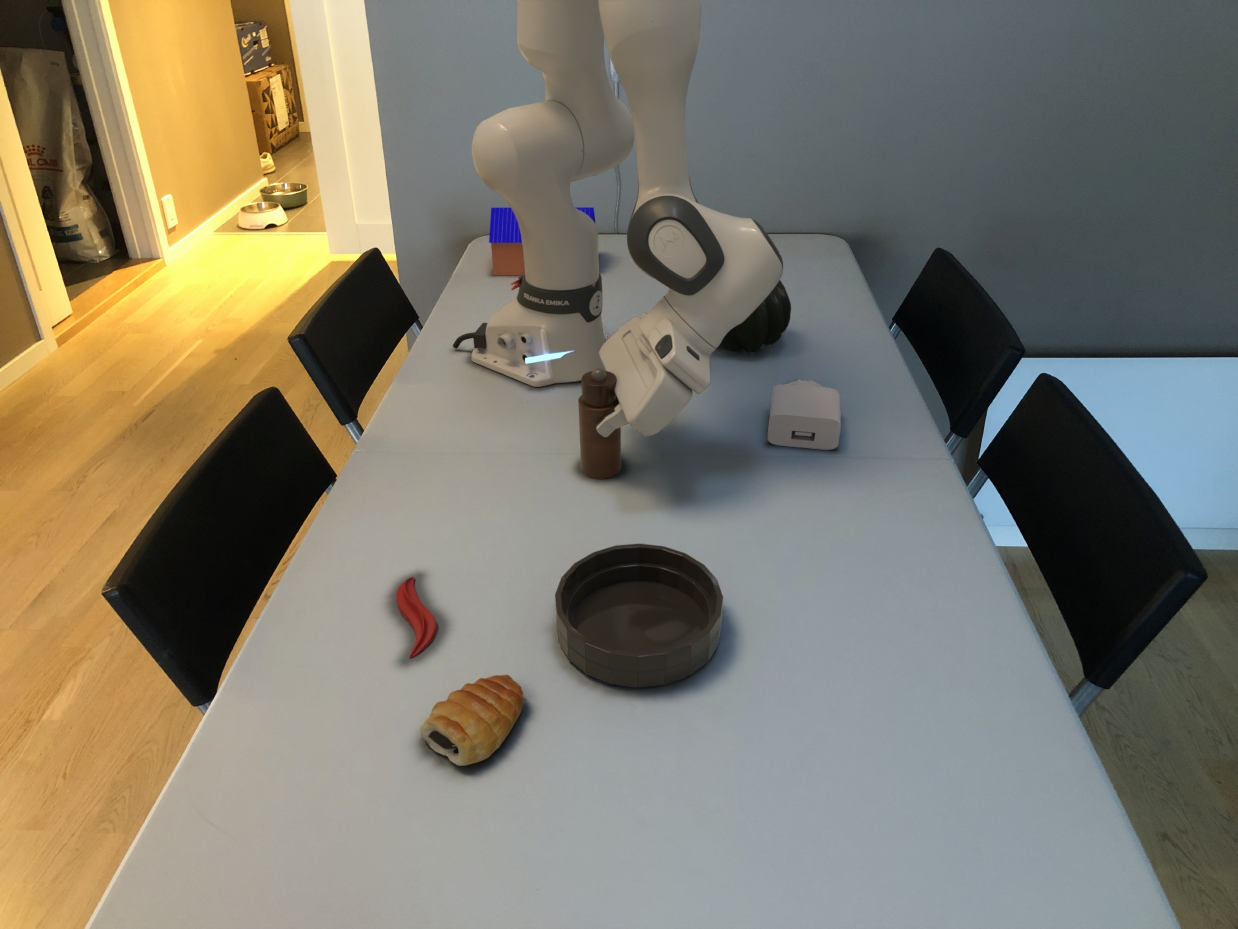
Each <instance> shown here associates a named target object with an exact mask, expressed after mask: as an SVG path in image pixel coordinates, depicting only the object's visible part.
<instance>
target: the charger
mask: <svg viewBox="0 0 1238 929" xmlns="http://www.w3.org/2000/svg"><path fill="white" fill-rule="evenodd" d="M768 419H769V420H768V430H767V439H766V440H767V441H768V442H769V444H772V445H774V446H780V447H790V448H802V449H811V450H812V449H813V450H823V451H831V450H834V449H836V448H838V446H839V440H840V435H841V427H842V420H841V419H842V418H841V394H840V391H838V390H837V389H835V388H831V387H825V386H823V385H821V384H819V383H818V382H816V381H814V380H813V379H810V380H802V379H801V378H798V379H797V380H795V381H794V380H793V381H791V382H789V383H785V384H783V383H782V384H777V385H774V386H773V387H772V390H771V400H770V409H769V418H768Z"/></svg>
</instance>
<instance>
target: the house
mask: <svg viewBox="0 0 1238 929" xmlns="http://www.w3.org/2000/svg"><path fill="white" fill-rule="evenodd" d="M574 208H576V209H578V210H580V211H582V212H584V213H585V214H587V215H588V216H589V217H590V218H591V219H592V220H593V221H594V223H595V224H596V225H597V223H596V216H595V215H596V214H595V209H594V208H595V207H593V206H592V207H587V206H586V207H579V206H578V207H575V206H574ZM489 219H490V220H489V221H490V222H489V236H488V243H489V244H490V247H491V258H492V270H493V276H522V275H524V274H525V265H524V254H523V245H522V238H521V232H520V228H519V225H518V222H517V219H516V217H515V214H514V212H513V211H512V209H511V207H490V218H489Z"/></svg>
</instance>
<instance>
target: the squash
mask: <svg viewBox="0 0 1238 929" xmlns="http://www.w3.org/2000/svg"><path fill="white" fill-rule="evenodd" d="M791 313H792V304H791V300H790V297H789V294H788V292H787V290H786V287H785V285H784V284H783V281H781V279H780V280H779V282H778V283H777V285H776V286H775V287H774V289H773V290H772V291H771V293H770V294H769V295H768V296H767V297H766V298H765V300H764V301H763V302H762V303H761V304H760V305H759V306H758V307H757V308H756V309H755V310H754V312H753V313H752V314H751V315H750V316H749V317H748V318H747V319H746V320H745V321H743V322H742V323H741V324H739V325H737V326H735V327H734V328H732V329H731V330H730V331H729V332H728V333H727V334H726V335H725V336H724V338H723V340H722V342H721V343H720V345H719V346H720V347H724V348H725V349H726V350H728V351H729V352H732V353H734V352H735V353H737V352H739V351H741V350H744V351H745V352H747V353H748V354H753V353H754V354H755V353H757V352H759V351H760V350H761V349H762V348H763V346H771V345H772V346H773V345H774V344H776V343H777V342H778V341H779V340H780V338H781V336H782V335H783V334H784V332H785V331H786V330H787V328H788V326H789V324H790V320H791Z"/></svg>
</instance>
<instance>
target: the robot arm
mask: <svg viewBox="0 0 1238 929" xmlns="http://www.w3.org/2000/svg"><path fill="white" fill-rule="evenodd" d="M702 2H703V0H517V10H516V11H517V12H516V13H517V15H516V16H517V18H516V20H517V22H516V23H517V24H516V26H517V29H516V32H517V33H516V36H517V37H516V43H517V47H518V50H519V52H520V54H521V55H522V57H523V58H524V60H525V61H526V62H527V63H528V64H530V66H532V67H534V68H535V69H536V70H538V71H540V72H541V74H542V77H543V80H544V85H545V98H544V101H539V102H534V103H528V104H524V105H517V106H512V107H509V108H507V109H504V110H502V111H500V112H497V113H496V114H493V115H492V116H489V117H488V118H486V119H484V120H482V121H481V122H479V124H478V125H477V126H476V129H475V131H474V134H473V138H472V143H471V157H472V161H473V166H474V168H475V171H476V173H477V175H478V176H479V178H480V180H481V181H482V182H483V183H484V184H485V186H487V187H488V188H489V189H490V191H493V192H494V193H496V194H498V195H499V196H500V197H501V198H502V199H503V200H504V201H505V202H506V203H507V204H508V206H509V208H511V209H512V211H513V212H514V214H515V217H516V219H517V222H518V225H519V228H520V232H521V238H522V245H523V254H524V265H525V274H524V275H519V276H518V279H516V280H514V281H513V282H511V283H510V286H511V288H510V290H511V291H514V290H516V289H518V291H517V295H516V297H514V299H512V300H511V301H509V302H508V303H507V304H506V305H505V306H503V307H501V309H500V310H498V311H497V312H495V313H494V314H493V315H492V316H491V317H490V318H489V319H488V322H482V323H481V324H480V326H479V327H478V328H477V329H476V330H475V331H473V332H468V333H464V334H462V335H459V336H458V337H457V338H455V341H454V342H453V344H452V348H454V349H455V350H457V349H458V348H459V347H460V345H461V344H462V342H464V341H466V340H470V339H472V340H473V350H472V353H471V361H472V362H473V363H475V364H478V365H480V366H482V367H484V368H487V369H489V370H492V371H494V372H496V373H499V374H502V375H504V376H507V377H509V378H511V379H514V380H516V381H519V382H521V383H524V384H526V385H527V386H528V385H529V386H531V387H534V388H539V387H545V386H548V385H552V384H553V385H554V384H560V383H561V384H562V383H573V382H574V383H575V382H580V381H581V382H582V376H583V375H584V374H585V373H587V372H590V371H593V370H594V369H596V368H601V369H603V370H604V371H609V372H611V373H613V374H614V375H615V376H616V384H615V388H614V391H615V393H616V396H617V398H618V400H619V404H618V405H617V406H616V407H615V409H614V410H615V412H613V413H612V414H610V415H608V416H607V417H605V416H604V415H603V416H602V417H601V418H600V419H599V421H597V422H596V423H595V426H596V429H597V432H598V433H599V434H600V435H602V436H603V437H608V436H609V435H610V434H611V433H612V432H613V431H614V430H615V429H617V428H620V427H621V428H622V427H625V426H627V425H630V426H631V427H632V428H633V429H635V430H636V431H637V432H638V433H640V434H641V435H642V436H644V437H645V438H647V437H651V436H654V435H657V434H658V433H660V432H662V430H663V429H665V427H667V425H669V424H670V423H671V422H672V421H673V420H674V419H675V418H676V417H677V416H678V415H679V414H680V413H682V411H683V410H684V409H685V408H686V407H687V406H688V404H689V403H690V402H691V399H693V398H692V397H693V394H694V393H695V394H696V395H701V394H702V393H704V392H705V391H706V390H707V389H708V388H709V387H710V385H711V354H712V353H713V352H715V350H717V348H719V346H721V345H720V343H721V342H722V340H723V338H724V336H725V335H726V334H727V333H728V332H729V331H730V330H731V329H732V328H734V327H735V326H737V325H739V324H741V323H742V322H743V321H745V320H746V319H747V318H748V317H749V316H750V315H751V314H752V313H753V312H754V310H755V309H756V308H757V307H758V306H759V305H760V304H761V303H762V302H763V301H764V300H765V298H766V297H767V296H768V295H769V294H770V293H771V291H772V290H773V289H774V287H775V286H776V285H777V283H778V282H779V280H780V281H781V278H782V277H783V273H784V260H783V257H782V255H781V254H780V251H779V249H778V248H777V246H776V245H775V242H774V241H773V240H772V238H771V237H770V235H769V234H768V233H767V231H766V230H765V229H764V228H763V226H762V225H761V224H760V223H759V222H758V221H757V220H755V219H753V218H752V217H739V216H735V215H730V214H728V213H724V212H721V211H718V210H715V209H712V208H710V207H707V206H705V205H703V204H701V203H700V202H699V201H698V199H697V198H696V196H695V193H694V191H693V188H692V184H691V178H690V173H689V172H690V171H689V159H688V158H689V156H688V154H689V153H688V140H687V125H686V124H687V122H686V108H687V107H686V106H687V99H688V98H687V97H688V91H689V87H690V86H689V85H690V82H691V77H692V73H693V71H694V70H693V69H694V66H695V62H696V59H697V55H698V50H699V43H700V36H701V35H700V34H701V24H702V6H703V5H702V4H703V3H702ZM605 44H606V48H607V51H608V56H609V58H610V61H611V63H612V67H613V68H614V71H615V74H616V75H617V78H618V79H619V82H620V84H621V86H622V89H623V91H624V94H625V97H626V99H627V103H628V106H629V109H628V108H627V106H626V105H625V104H624V102H623V101H622V100H621V99H620V98H618V96H617V95H616V94H615V92H614V90H613V88H612V85H611V82H610V79H609V76H608V71H607V65H606V60H605V59H606V58H605ZM629 110H630V111H629ZM634 146H635V158H636V168H637V169H636V170H637V181H638V182H637V183H638V185H637V196H636V201H635V204H634V207H633V209H632V212H631V215H630V217H629V218H630V219H629V222H628V226H627V230H626V245H627V251H628V253H629V256H630V258H631V260H632V261H633V263H634V265H635V266H636V267H637V268H638V269H639V270H640V272H642V273H644V274H645V275H646V276H648V277H650V278H652V279H655V281H657V282H659V283H660V284H662V285H663V286H664V287H667V288H668V291H667V292H666V294H665V295H663V297H662V298H660V300H658V301H657V303H656V304H654V306H653V307H652V308H651V309H650V310H649V311H648V312H644V313H643V314H641V315H640V316H635V317H632V318H630V319H629V320H628V321H627V322H625V323H624V324H623V325H621V327H619V328H618V329H617V330H616V331H615V332H614V333H613V334H612V335H611V336H609V338H607V340H606V336H605V331H604V324H603V319H602V318H603V317H602V313H603V301H604V300H603V298H604V297H603V277H602V275H601V273H600V262H599V258H600V257H599V256H600V255H599V230H598V227H597V223H596V222H595V223H596V224H595V223H594V221H593V220H592V219H591V218H590V217H589V216H588V215H587V214H585V213H584V212H582V211H580V210H578V209H576V208H574V207H575V206H574V203H573V199H572V196H571V189H570V188H571V183H573V182H576V181H581V180H585V179H589V178H591V177H595V176H599V175H603V174H604V173H606V172H607V171H609V170H611V169H613V168H615V167H616V166H618V165H619V164H620V163H623V162H624V161H625V160H627V159H628V157H629V156H630V154H631V152H632V150H633V148H634ZM693 392H694V393H693Z"/></svg>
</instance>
